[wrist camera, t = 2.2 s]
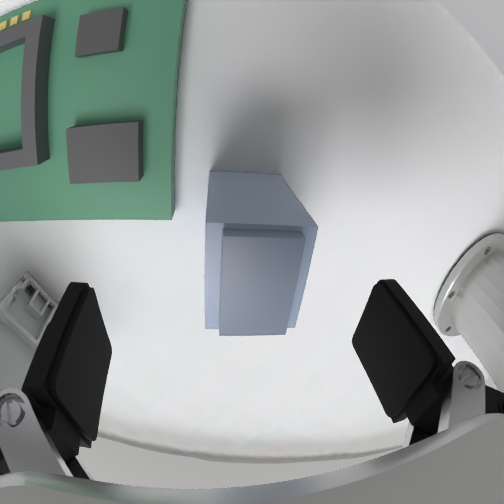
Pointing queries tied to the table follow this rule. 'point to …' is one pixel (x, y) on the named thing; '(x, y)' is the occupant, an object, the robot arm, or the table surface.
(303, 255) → the plug
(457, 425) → the robot arm
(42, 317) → the circuit breaker
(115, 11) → the board
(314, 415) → the table surface
